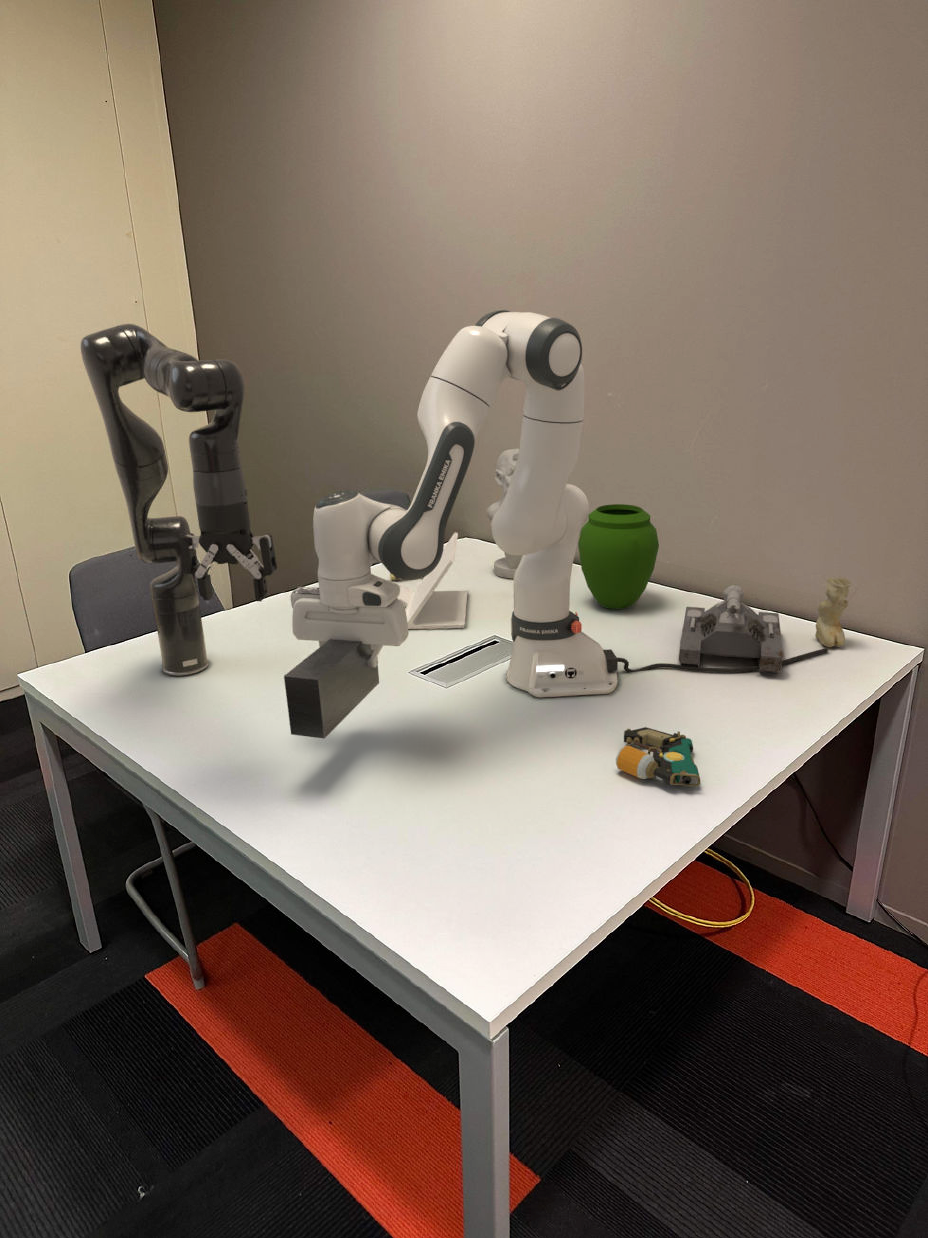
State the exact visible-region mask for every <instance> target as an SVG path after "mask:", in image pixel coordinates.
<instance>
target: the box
mask: <svg viewBox="0 0 928 1238" xmlns="http://www.w3.org/2000/svg"><path fill="white" fill-rule="evenodd" d="M373 652H374V650H371V644H362V641H348V640H333V639H329V640H328V641H327V642H326V643H324V644H323V645H322V646H321V647H318V648H317V649H315V651H313V652H312V653H310V654H309V655H308V656H307V657H306V658H305V659H303V660H302V661H301V662H299V663H298V664H297V665H296V666H294V667H293V668H292V669H291V670H289V671H288V672H286V673H285V674H284V676H283V680H284V687H285V695H286V704H287V712H288V721H289V728H290V735H293V736H301V737H307V738H315V739H322V740H325V739H326V738H327V737H328V736H330V734H331V733H332V732H333V731H334V730H335V729H336V728H337V727H338V726H339V725H340V724H341V723H342V722H343V720H345V719H346V718H347V716H349V715H350V714H351V712H352V711H353V710H354V709H356V707H357V706H358V705H359V704H360V703H362V701H363V700H364V699H365V698H366V697H367V696H368V695H369V694H370V693H372V691H373V690H374V689H375V688H376V687H377V686H378V685H379V684H380V675H379V664H378V665H377V666H376V667H375V668H372V667H367V665H366V664H367V662H366V658H367V657H368V656H369V655H372V654H373Z"/></svg>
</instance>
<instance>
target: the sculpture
mask: <svg viewBox="0 0 928 1238" xmlns="http://www.w3.org/2000/svg"><path fill="white" fill-rule="evenodd" d="M826 581H827V586H826V588H825V590H824V593H825V595H826V596H827V598H826V600H824V601H822V602H821V603H820V604H819V605H818V606H817V609H816V610H817V612H818V614H819V616H818V617H817V619H816V623H815V630H816V631H815V634H814V635H815V639H817V640H819V642H820V643H821V644H822V645H823V646H825V648H832V647H834V646H835V647H843V646H844V645H845V643H846V642H845V641H846V636H845V632H844V630H843V626H842V624H841V622H840V621H841V617H842V615H843V612H844V610H845V609H846V608H847V606H848V604H849V603H848V602H849V601H847V598H848V597H849V592H850V586H851V585H852V582H850V580H848V579H847V578H845V577H841V576H840V577H835V578H831V577H827V578H826Z"/></svg>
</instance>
